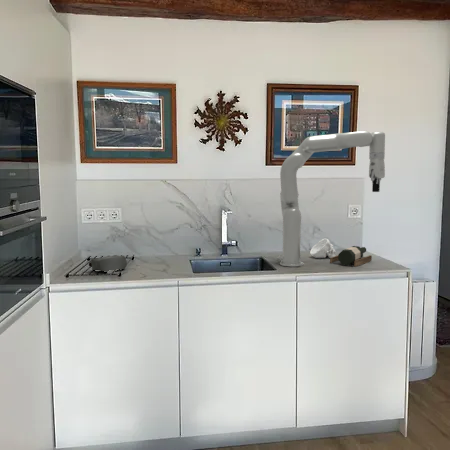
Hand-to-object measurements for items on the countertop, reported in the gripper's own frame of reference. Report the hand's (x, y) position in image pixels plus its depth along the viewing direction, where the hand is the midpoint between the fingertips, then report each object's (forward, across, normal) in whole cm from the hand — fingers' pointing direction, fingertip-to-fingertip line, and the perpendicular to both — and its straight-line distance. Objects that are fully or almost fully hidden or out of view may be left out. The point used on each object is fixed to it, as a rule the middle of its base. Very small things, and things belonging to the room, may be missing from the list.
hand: (375, 191), depth 232 cm
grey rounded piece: (+40, -97, +101) cm, 146 cm away
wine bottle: (+35, -12, +11) cm, 38 cm away
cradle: (+39, 0, +13) cm, 41 cm away
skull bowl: (+39, +3, +32) cm, 51 cm away
